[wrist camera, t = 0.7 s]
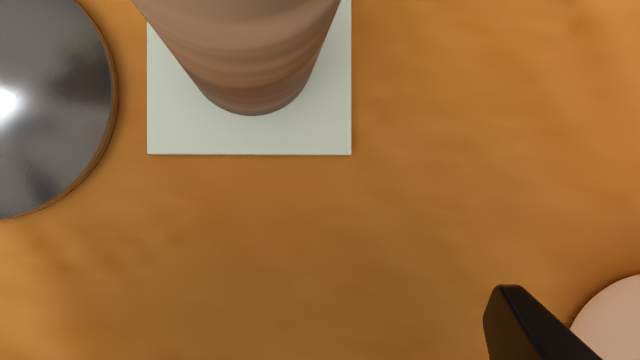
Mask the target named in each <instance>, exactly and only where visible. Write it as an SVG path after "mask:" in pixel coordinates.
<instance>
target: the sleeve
mask: <svg viewBox="0 0 640 360" xmlns="http://www.w3.org/2000/svg"><path fill="white" fill-rule="evenodd" d="M132 2H133V3H134V4H135V6H136V7H137V8H138V10H139V11H140V12H141V14H142V15H143V16H144V17H145V19H146V20H147V21H148V23H149V24H150V25H151V27H152V28H153V29H154V31H155V32H156V33H157V35H158V36H159V37H160V39H161V40H162V41H163V43H164V44H165V45H166V46H167V48H168V49H169V50H170V52H171V53H172V54H173V56H174V57H175V58H176V60H177V61H178V62H179V64H180V65H181V66H182V68H183V69H184V70H185V71H186V73H187V74H188V75H189V77H190V78H191V79H192V81H193V82H194V83H195V85H196V86H197V87H198V89H199V90H200V91H201V93H202V94H203V95H204V96H205V97H206V98H207V99H208V100H209V101H211V102H212V103H213V104H215V105H216V106H218V107H220V108H221V109H223V110H226V111H228V112H230V113H234V114H237V115H243V116H260V115H266V114H270V113H273V112H275V111H278V110H280V109H282V108H284V107H285V106H287V105H288V104H289V103H291V102H292V101H293V100H294V99H295V98H296V97H297V96H298V95H299V94H300V93H301V92H302V90H303V89H304V87H305V86H306V84H307V82H308V80H309V77H310V75H311V73H312V70H313V68H314V65H315V63H316V60H317V58H318V56H319V53H320V51H321V48H322V46H323V43H324V41H325V39H326V36H327V34H328V31H329V29H330V26H331V24H332V21H333V19H334V17H335V14H336V12H337V9H338V7H339V4H340V2H341V0H132Z"/></svg>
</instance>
